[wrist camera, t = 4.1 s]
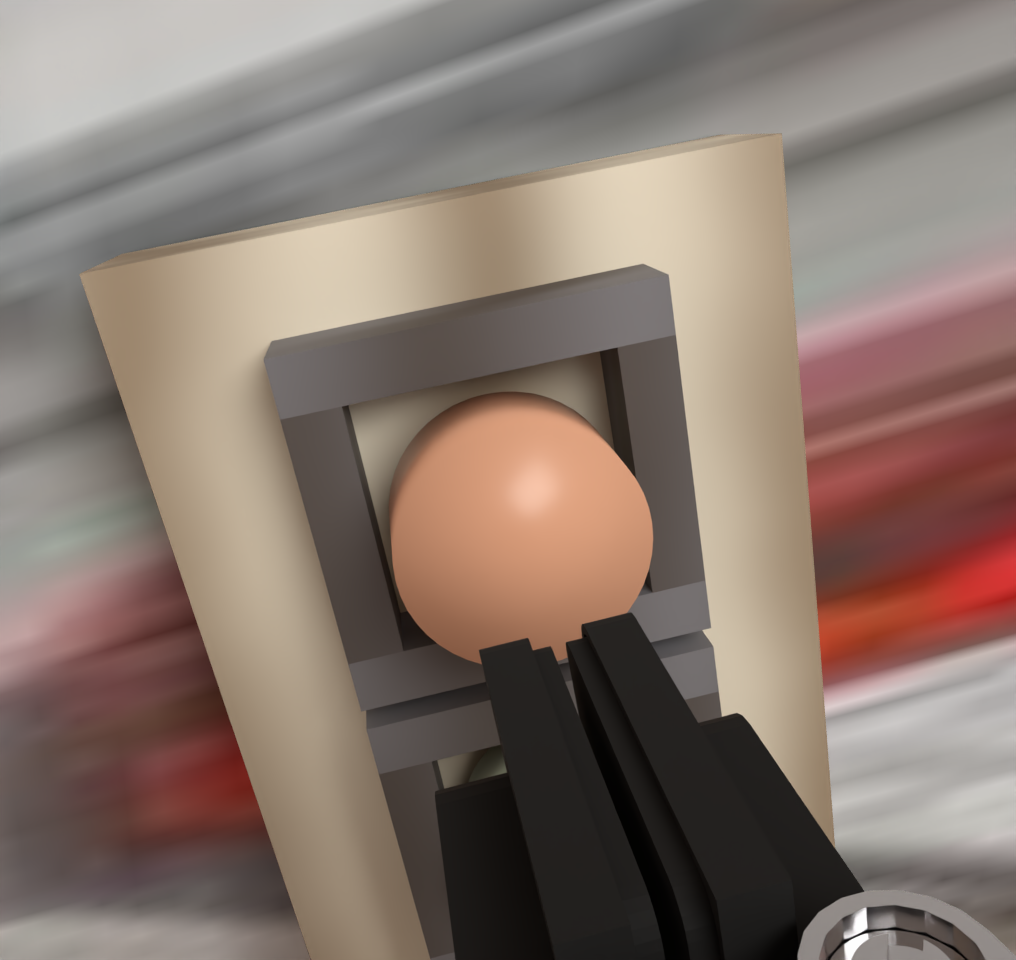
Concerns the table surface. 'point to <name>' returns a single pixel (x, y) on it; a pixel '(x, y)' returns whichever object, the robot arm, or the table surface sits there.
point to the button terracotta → (515, 525)
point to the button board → (392, 426)
